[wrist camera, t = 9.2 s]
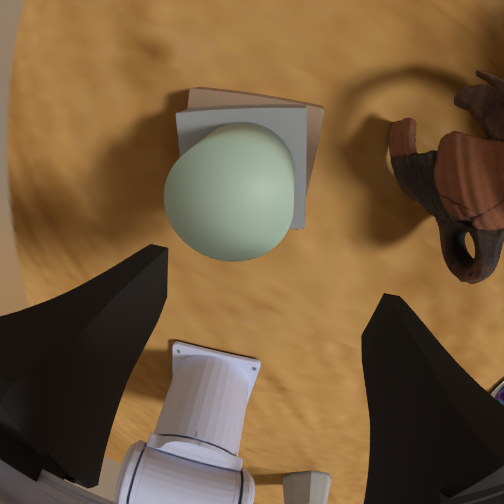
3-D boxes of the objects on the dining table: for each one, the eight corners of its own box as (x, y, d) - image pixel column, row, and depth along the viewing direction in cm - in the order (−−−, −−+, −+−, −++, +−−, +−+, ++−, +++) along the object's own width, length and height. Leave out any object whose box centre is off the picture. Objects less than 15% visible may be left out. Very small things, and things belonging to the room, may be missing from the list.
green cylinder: (281, 226, 16) (276, 273, 13) (189, 205, 16) (161, 246, 13) (305, 134, 13) (308, 157, 10) (201, 113, 13) (169, 129, 10)
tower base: (297, 212, 20) (298, 229, 18) (191, 192, 21) (179, 208, 18) (321, 105, 17) (325, 109, 15) (202, 86, 17) (189, 88, 15)
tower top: (303, 212, 18) (304, 228, 16) (198, 211, 18) (188, 226, 17) (304, 104, 15) (306, 108, 13) (188, 108, 15) (175, 113, 14)
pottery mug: (369, 74, 15) (488, 43, 8) (459, 96, 18) (550, 91, 10) (379, 274, 18) (488, 326, 11) (463, 249, 21) (548, 277, 14)
